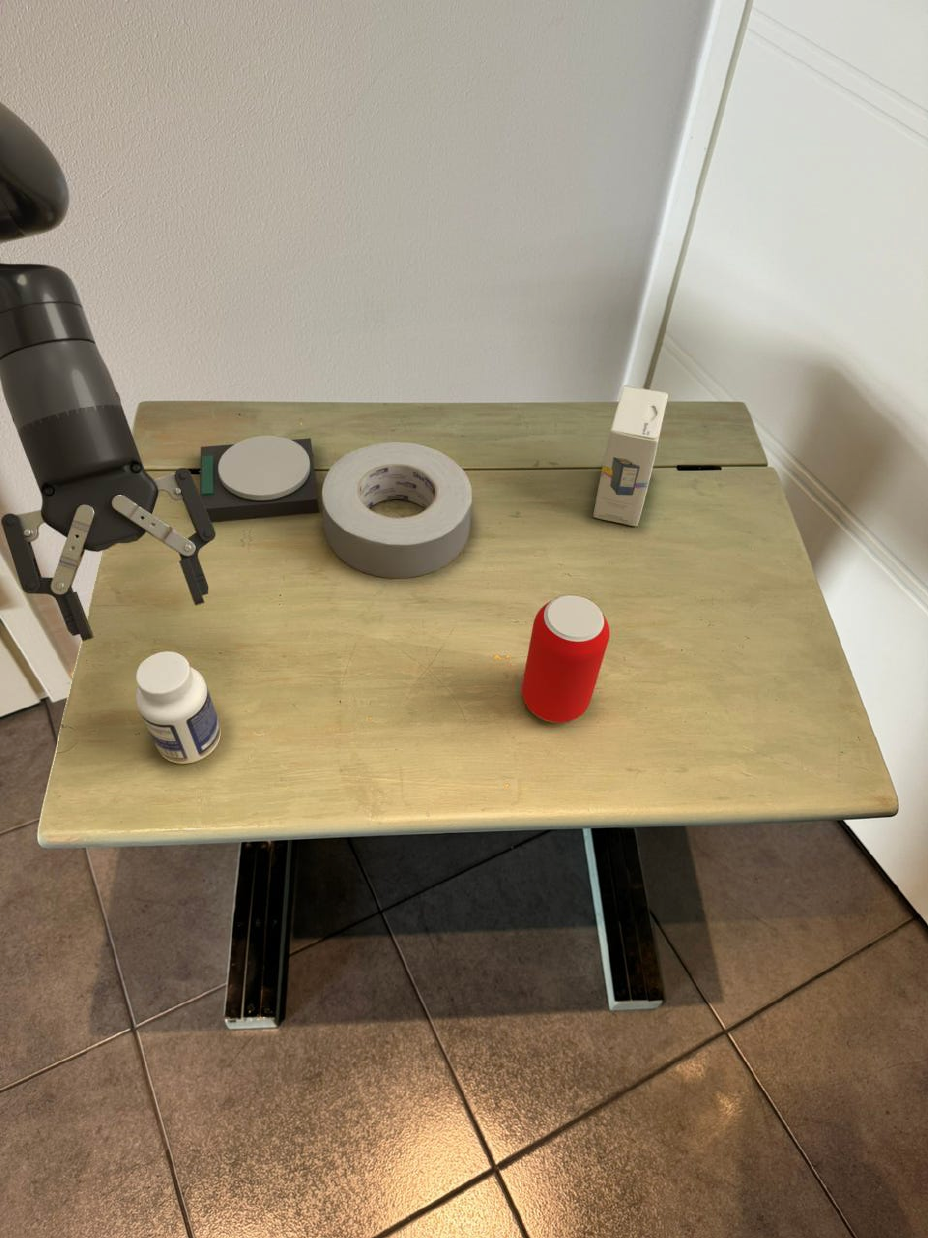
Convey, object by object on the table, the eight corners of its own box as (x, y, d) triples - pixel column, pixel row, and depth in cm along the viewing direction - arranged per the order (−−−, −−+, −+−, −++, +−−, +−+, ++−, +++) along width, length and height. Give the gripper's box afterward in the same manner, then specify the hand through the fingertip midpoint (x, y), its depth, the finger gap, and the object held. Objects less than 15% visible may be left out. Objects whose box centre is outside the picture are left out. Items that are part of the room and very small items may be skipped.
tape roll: (497, 518, 90) (502, 482, 86) (409, 602, 82) (409, 568, 78) (387, 458, 95) (386, 422, 91) (293, 532, 87) (288, 496, 83)
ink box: (636, 528, 90) (662, 441, 81) (589, 518, 90) (610, 430, 81) (647, 478, 95) (672, 391, 86) (603, 468, 96) (623, 381, 87)
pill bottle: (212, 702, 73) (189, 634, 66) (229, 751, 70) (207, 686, 63) (150, 723, 72) (119, 656, 64) (164, 775, 69) (134, 711, 61)
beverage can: (530, 664, 78) (546, 578, 68) (595, 683, 77) (620, 598, 67) (512, 717, 74) (526, 633, 65) (580, 737, 73) (605, 656, 64)
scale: (203, 523, 87) (197, 501, 85) (204, 460, 93) (198, 439, 91) (319, 512, 89) (316, 491, 87) (312, 451, 95) (310, 430, 93)
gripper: (-45, 432, 56) (43, 657, 59) (166, 383, 61) (239, 593, 64) (-24, 447, 63) (54, 647, 66) (164, 402, 68) (230, 591, 71)
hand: (145, 621), depth 65 cm, fingers open, 8 cm apart
